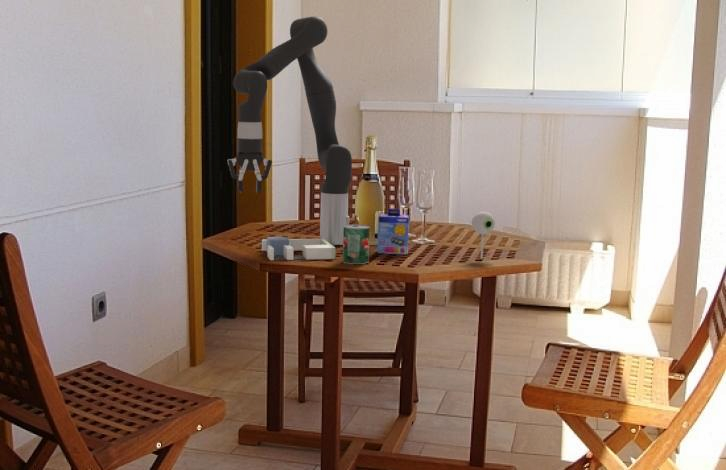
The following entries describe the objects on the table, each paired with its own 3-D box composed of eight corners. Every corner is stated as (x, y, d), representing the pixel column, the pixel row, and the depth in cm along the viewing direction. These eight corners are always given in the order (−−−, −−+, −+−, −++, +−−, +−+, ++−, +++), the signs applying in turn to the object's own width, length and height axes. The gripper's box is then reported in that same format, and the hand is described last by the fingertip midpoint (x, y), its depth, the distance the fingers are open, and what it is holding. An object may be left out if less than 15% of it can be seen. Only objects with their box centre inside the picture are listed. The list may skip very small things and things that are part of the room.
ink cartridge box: (376, 253, 294) (378, 208, 292) (377, 250, 300) (378, 206, 297) (407, 254, 294) (409, 209, 291) (407, 251, 299) (409, 207, 297)
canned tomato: (372, 264, 276) (373, 227, 274) (346, 265, 273) (347, 228, 272) (364, 259, 283) (365, 224, 281) (339, 260, 281) (340, 224, 279)
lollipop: (477, 261, 285) (479, 213, 283) (465, 257, 291) (468, 210, 289) (497, 260, 288) (499, 212, 285) (485, 256, 294) (487, 209, 292)
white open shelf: (323, 249, 299) (323, 238, 299) (335, 258, 283) (335, 247, 282) (261, 250, 294) (262, 239, 294) (270, 260, 278) (270, 248, 277)
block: (285, 252, 293) (285, 236, 292) (288, 255, 287) (289, 239, 286) (266, 252, 291) (266, 237, 291) (269, 256, 286) (269, 240, 285)
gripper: (271, 136, 287) (270, 191, 289) (225, 136, 283) (224, 191, 286) (275, 138, 280) (274, 194, 282) (227, 137, 276) (227, 194, 279)
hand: (249, 192), depth 284 cm, fingers open, 4 cm apart
